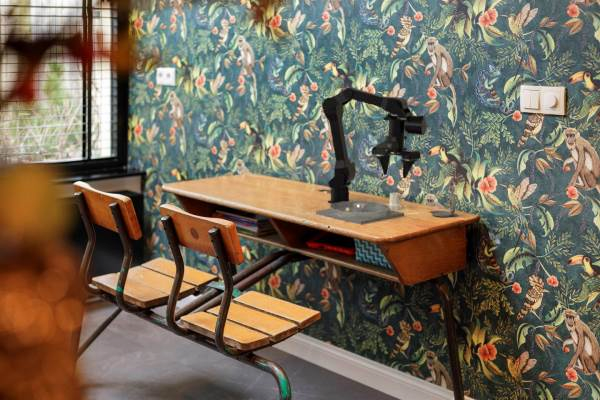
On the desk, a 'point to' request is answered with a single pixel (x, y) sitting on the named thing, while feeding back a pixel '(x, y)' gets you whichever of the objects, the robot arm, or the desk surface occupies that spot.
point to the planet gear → (394, 202)
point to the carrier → (360, 220)
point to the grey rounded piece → (451, 207)
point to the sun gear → (359, 207)
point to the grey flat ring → (350, 214)
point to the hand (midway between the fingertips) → (394, 176)
